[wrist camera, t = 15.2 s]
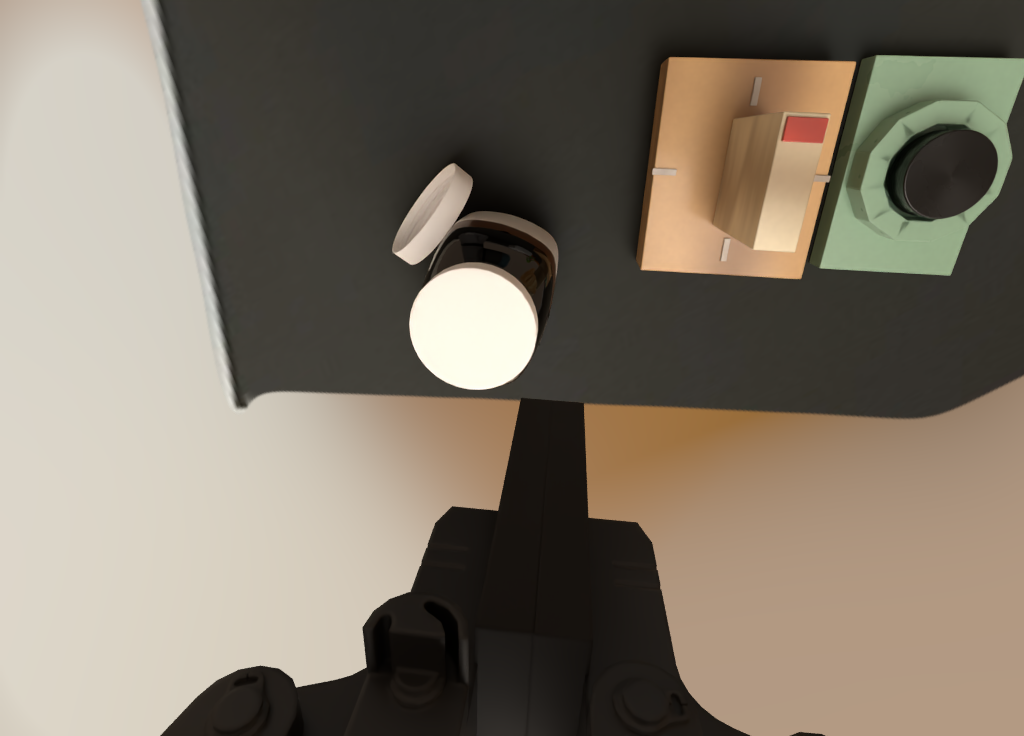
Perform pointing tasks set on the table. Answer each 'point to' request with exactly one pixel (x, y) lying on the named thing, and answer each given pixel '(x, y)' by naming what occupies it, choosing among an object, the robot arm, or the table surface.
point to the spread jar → (476, 285)
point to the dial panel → (702, 153)
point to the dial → (769, 178)
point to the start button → (942, 173)
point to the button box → (885, 133)
